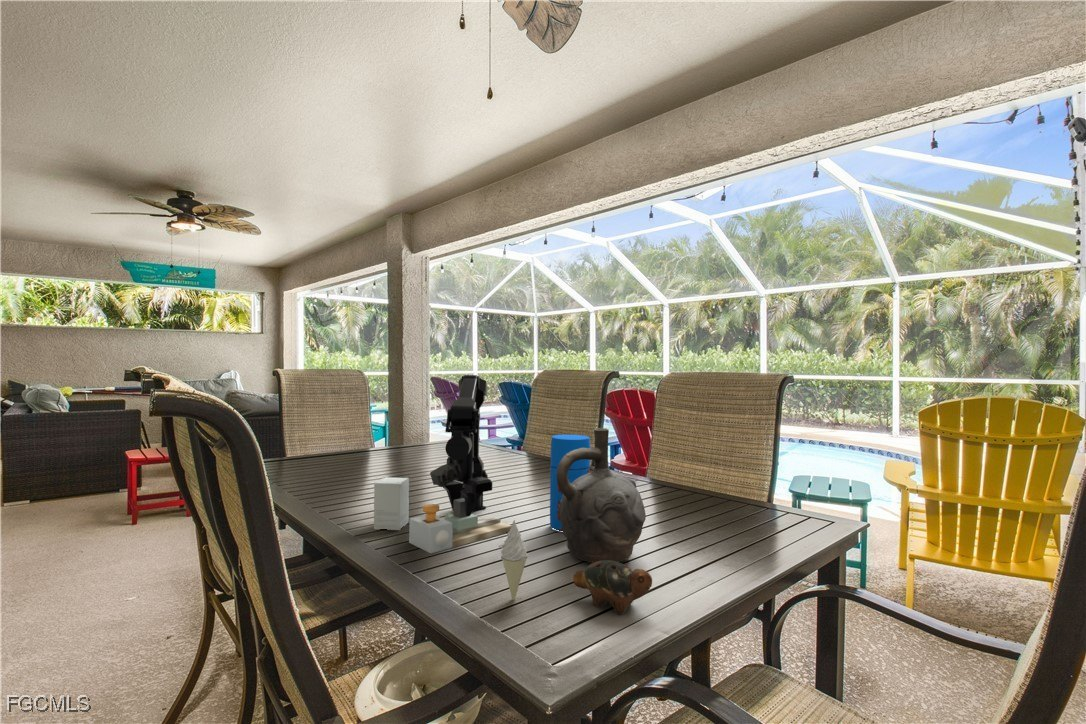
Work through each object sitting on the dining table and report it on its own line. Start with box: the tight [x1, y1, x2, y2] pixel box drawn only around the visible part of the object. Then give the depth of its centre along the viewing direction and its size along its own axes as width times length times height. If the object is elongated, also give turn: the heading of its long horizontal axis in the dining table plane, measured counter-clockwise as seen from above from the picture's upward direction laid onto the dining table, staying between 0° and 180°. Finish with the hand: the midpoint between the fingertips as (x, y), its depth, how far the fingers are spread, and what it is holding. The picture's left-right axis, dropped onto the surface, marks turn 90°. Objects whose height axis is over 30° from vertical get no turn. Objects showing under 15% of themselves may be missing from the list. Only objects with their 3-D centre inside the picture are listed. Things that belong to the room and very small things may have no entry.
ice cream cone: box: [500, 520, 528, 601], centre depth 97 cm, size 5×5×15 cm
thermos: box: [549, 434, 591, 531], centre depth 142 cm, size 11×11×25 cm
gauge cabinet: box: [408, 514, 453, 554], centre depth 126 cm, size 6×10×6 cm, turn 44°
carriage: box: [444, 498, 479, 531], centre depth 132 cm, size 6×6×6 cm
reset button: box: [422, 503, 440, 524], centre depth 126 cm, size 4×4×4 cm
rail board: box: [452, 516, 512, 548], centre depth 135 cm, size 19×10×3 cm, turn 134°
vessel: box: [557, 427, 647, 564], centre depth 119 cm, size 24×22×30 cm
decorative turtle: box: [572, 560, 653, 615], centre depth 95 cm, size 10×15×8 cm, turn 67°
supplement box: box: [373, 476, 410, 531], centre depth 140 cm, size 7×7×13 cm
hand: (461, 513), depth 132 cm, fingers open, 6 cm apart
